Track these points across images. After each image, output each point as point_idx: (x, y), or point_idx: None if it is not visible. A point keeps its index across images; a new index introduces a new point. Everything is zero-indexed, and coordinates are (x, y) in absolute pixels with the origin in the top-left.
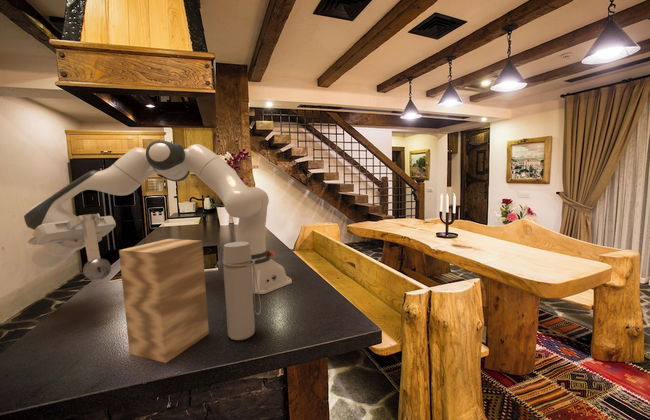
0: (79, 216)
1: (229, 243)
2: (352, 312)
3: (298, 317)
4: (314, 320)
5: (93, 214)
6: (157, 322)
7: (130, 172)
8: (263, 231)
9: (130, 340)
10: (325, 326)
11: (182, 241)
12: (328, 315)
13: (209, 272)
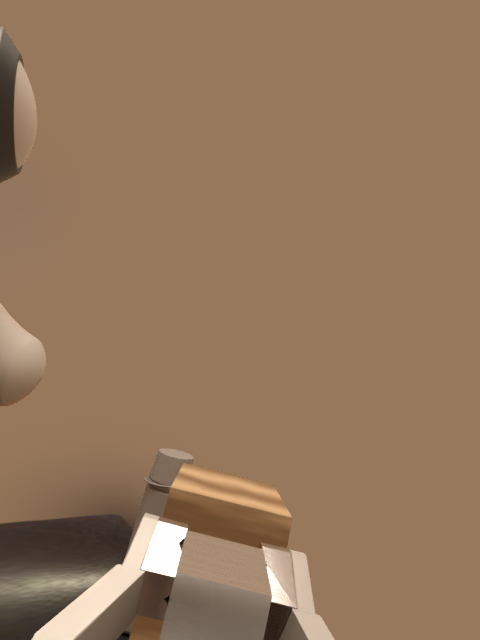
0: (303, 559)
1: (172, 456)
2: (72, 520)
3: (75, 562)
4: (90, 548)
5: (187, 527)
6: None
7: None
8: None
9: None
10: (109, 540)
11: (194, 474)
12: (76, 536)
13: None
